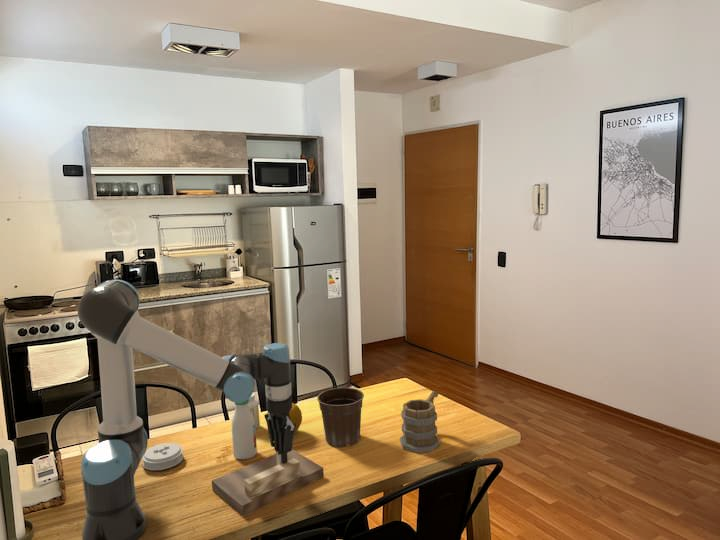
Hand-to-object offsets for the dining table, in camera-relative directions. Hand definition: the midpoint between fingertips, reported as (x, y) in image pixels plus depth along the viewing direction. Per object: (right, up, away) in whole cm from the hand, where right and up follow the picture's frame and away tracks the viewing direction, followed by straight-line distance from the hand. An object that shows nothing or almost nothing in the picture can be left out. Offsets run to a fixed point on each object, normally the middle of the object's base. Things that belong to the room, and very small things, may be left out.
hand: (282, 471), depth 159 cm
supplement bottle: (-18, +1, +40) cm, 44 cm away
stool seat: (-4, -4, +2) cm, 6 cm away
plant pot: (+17, 0, +28) cm, 33 cm away
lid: (-42, -4, +17) cm, 45 cm away
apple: (-4, 0, +34) cm, 34 cm away
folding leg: (-2, -2, -5) cm, 5 cm away
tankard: (+46, +1, +26) cm, 53 cm away
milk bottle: (-15, -2, +20) cm, 25 cm away
